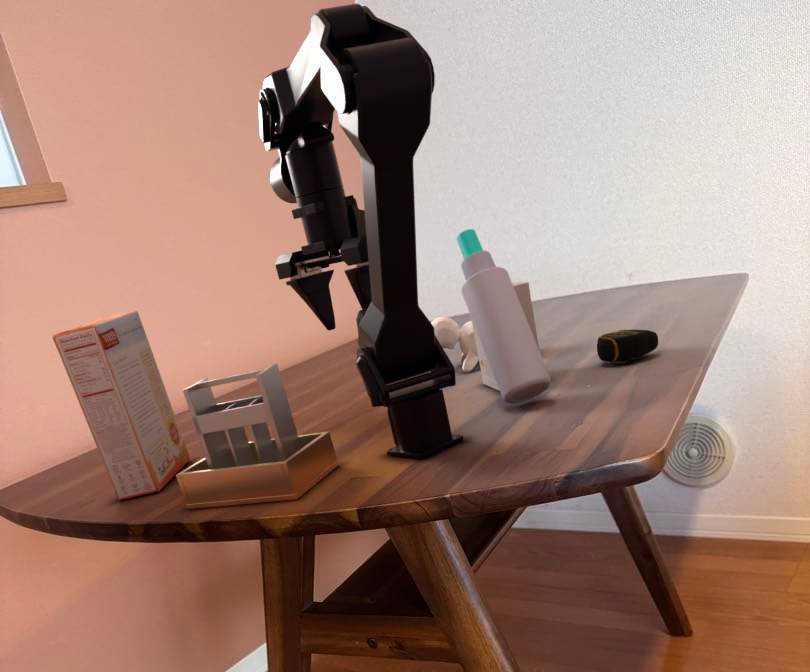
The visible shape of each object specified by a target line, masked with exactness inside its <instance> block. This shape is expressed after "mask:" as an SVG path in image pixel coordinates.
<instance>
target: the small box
mask: <svg viewBox="0 0 810 672" xmlns="http://www.w3.org/2000/svg"><path fill="white" fill-rule="evenodd" d="M511 282H512V284H513V287H514V289H515V292H516V294H517V297H518V299H519V302H520V304H521V307H522V309H523V312H524V314H525V317H526V319H527V322H528V324H529V327H530V329H531V332H532V334H533V337H534V339H535V342H536V344H537V346H538V349H539V350H540V345H539V339H538V332H537V327H536V322H535V316H534V309H533V303H532V297H531V290H530V284H529V283H530V282H527V281H523V282H522V281H511ZM470 318H471V317H470ZM471 321H472V325H473V330H474V336H475V341H476V346H477V352H478V357H479V360H478V362H479V367H480V373H481V379H482V384H483V385H485V386H487V387H489V388H491V389H494V390H497V391H499V392H500V390H499V387H498V385H497V382H496V380H495V377H494V375H493V372H492V369H491V367H490V364H489V362H488V359H487V357H486V354H485V351H484V349H483V346H482V344H481V341H480V338H479V336H478V333H477V331H476V328H475V326H474V323H473V320H472V318H471Z"/></svg>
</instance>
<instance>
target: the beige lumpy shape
mask: <svg viewBox="0 0 810 672" xmlns="http://www.w3.org/2000/svg"><path fill="white" fill-rule="evenodd" d="M430 322H431V324H432V325H433V327H434V332H435V336H436V338H437V339H438V341H439V343H440V344H441V346H442V348H443V349H449V350H454V349H455V347H456V345H457V343H458V342H459V343H458V344H459V347H460V350H461V356H460V360H459V364H460V365H462V367H461V369H462V371H463V372H464V373H467V374H469V373H470V372H472V370H473V369H474V368H475V367H476V365H477V363H478V362H479V357H478V352H477V346H476V341H475V336H474V330H473V325H472V320H469V321H467V322H465V323H464V324H463V325H462V326H461V328H459V323H458V322H457V321H456V320H454V319H453V318H451V317H450V316H449V317H448V316H445V315H444V316H439V317H436V318H434V319H433V320H432V321H430Z"/></svg>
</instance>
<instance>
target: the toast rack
mask: <svg viewBox="0 0 810 672" xmlns="http://www.w3.org/2000/svg"><path fill="white" fill-rule="evenodd" d="M251 379H256V381H257V385H258V388H259V391H260V394H259V395H255V396H249V397H245V398H238V399H233V400H230V401H225V402H219V403H216V399H215V396H214V393H213V389H212V387H216V386H221V385H226V384H230V383H231V384H232V383H236V382H240V381H245V380H251ZM286 392H287V391H286V389H285V385H284V381H283V378H282V375H281V372H280V367H279V365H278V363H273V364H271V365H270V366H268V367H266V368H263V369H257V370H253V371H249V372H244V373H239V374H234V375H229V376H224V377H219V378H215V379H210V380H209V378H208V377H205V378H202V379H200V380H198V381H197V382H195V383H192V384H191V385H190V386H188V387H186V388H183V389H182V393H183V396H184V398H185V401H186V404H187V407H188V410H189V413H190V417H191V419H192V422H193V424H194V425H193V426H194V428H195V431H196V434H197V437H198V440H199V442H200V446H201V449H202V452H203V455H204V458H206V461H207V464H208V467H209V470H210V469H219V468H228V467H236V466H245V465H254V464H255V462H254V458H253V455H252V452H251V449H250V446H249V442H250V441H249V440H248V436H247V433H246V430H245V427H248V428H249V431H250V435H251V437H252V441H254V444H255V447H256V451H257V454H258V457H259V460H260V464H263V463H271V462H278V459H277V456H276V453H275V449H274V446H273V443H272V439H274V438H275V442H276V445H277V448H278V452H279V455H280V458H281V461H285V460H286V459H288V458H289V457H290V456H292V455H293V454H295V453H296V452H297V451H299V450H300V449H302V448H301V445H300V441H299V438H298V435H299V434H298V431H297V427H296V424H295V421H294V417H293V413H292V410H291V407H290V403H289V399H288V396H287V394H286ZM268 423H269V425H270V428H271V432H272V434H273V438H272V435H271V433H270V430H269V427H268ZM229 444H230V446H229ZM230 447H231V449H230ZM231 450H232V452H231ZM232 454H233V455H232ZM233 457H234V458H233ZM234 460H235V461H234ZM235 463H236V464H235Z"/></svg>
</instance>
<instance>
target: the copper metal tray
mask: <svg viewBox="0 0 810 672" xmlns="http://www.w3.org/2000/svg"><path fill="white" fill-rule="evenodd" d="M298 438H299V441H300V445H301V448H302V449H300V450H299V451H297V452H296V453H295V454H293V455H292V456H290V457H289V458H288V459H286V460H285V461H281V458H280V455H279V452H278V448H277V445H276V442H275V438H274V437H273V438H271V439H272V443H273V446H274V449H275V453H276V456H277V459H278V462H271V463H263V464H260V460H259V457H258V454H257V451H256V447H255V444H254V441H253V440H252V441H248V442H249V446H250V449H251V452H252V455H253V458H254V462H255V464H254V465H245V466H236V467H228V468H219V469H210V470H209V467H208V464H207V461H206V458H205V457H203V458H201V459H200V460H198V461H197V462H195V463H193V464H192V465H190V466H188V467H186V468H185V469H183V470H181V471H179V472H177V473H176V474H175V477H176V480H177V483H178V486H179V489H180V490H181V494H182V497H183V500H184V502H185V505H186V508H187V510H193V509H195V510H196V509H206V508H217V507H218V508H219V507H227V506H239V505H240V506H241V505H251V504H261V503H273V502H285V501H295V500H296V501H297V500H298V499H300V497H302V496H304V494H306V493H307V492H309V490H311V489H312V488H313V487H314V486H315V485H317V484H318V483H319V482H320V481H321V480H322V479H324V478H325V477H326V476H328V475H329V474H330V473H331V472H332V471H334V470H335V469H336V468H337V467H338V466H339V461H338V458H337V454H336V451H335V447H334V443H333V439H332V435H331V432H330V431H329V430H327V431H321V432H313V433H305V434H298ZM229 446H230V444H229ZM230 449H231V447H230ZM231 452H232V450H231ZM232 455H233V454H232ZM233 458H234V457H233ZM234 461H235V460H234ZM235 464H236V463H235Z"/></svg>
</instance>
